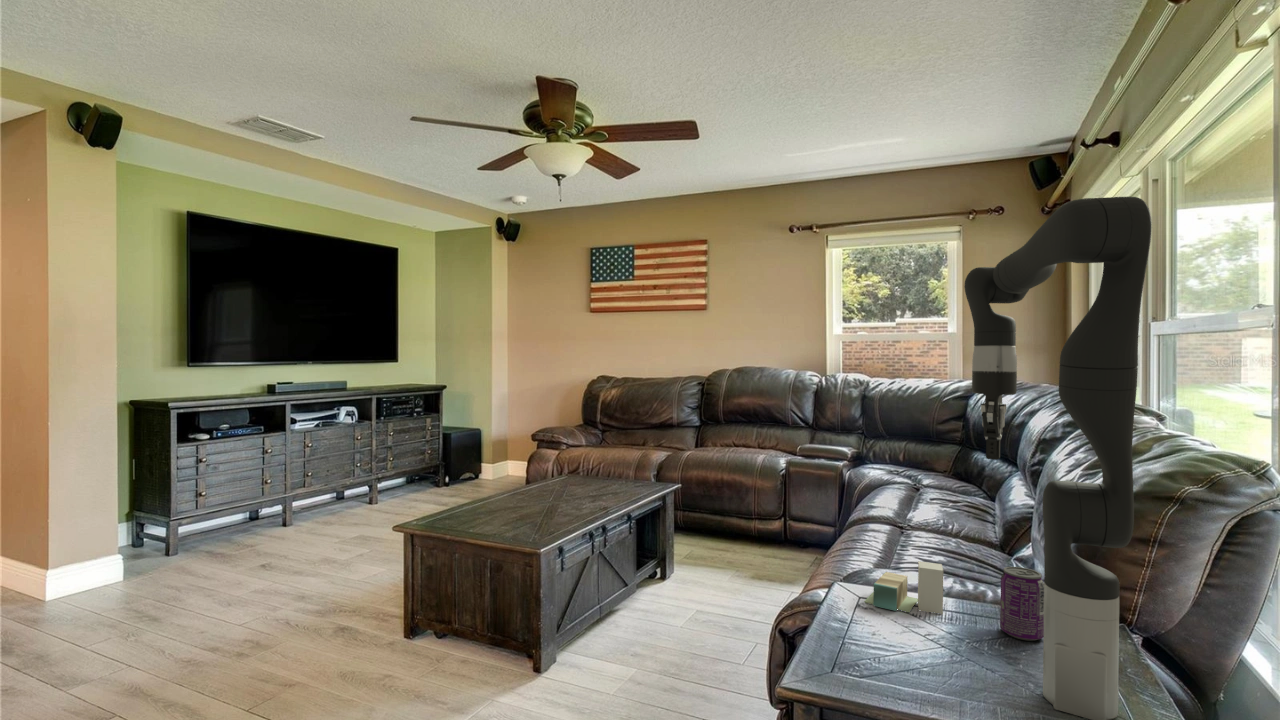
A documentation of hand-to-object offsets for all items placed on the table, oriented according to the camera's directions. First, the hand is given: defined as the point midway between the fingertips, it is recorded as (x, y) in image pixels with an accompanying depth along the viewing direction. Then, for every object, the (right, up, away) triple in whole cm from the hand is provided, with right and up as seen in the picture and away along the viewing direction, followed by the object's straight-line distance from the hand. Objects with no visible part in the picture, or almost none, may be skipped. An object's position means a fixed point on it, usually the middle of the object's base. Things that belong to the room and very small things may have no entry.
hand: (993, 458), depth 119 cm
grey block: (-8, -33, +10) cm, 35 cm away
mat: (-14, -33, +13) cm, 38 cm away
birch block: (-18, -30, +9) cm, 36 cm away
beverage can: (+4, -33, -2) cm, 34 cm away
